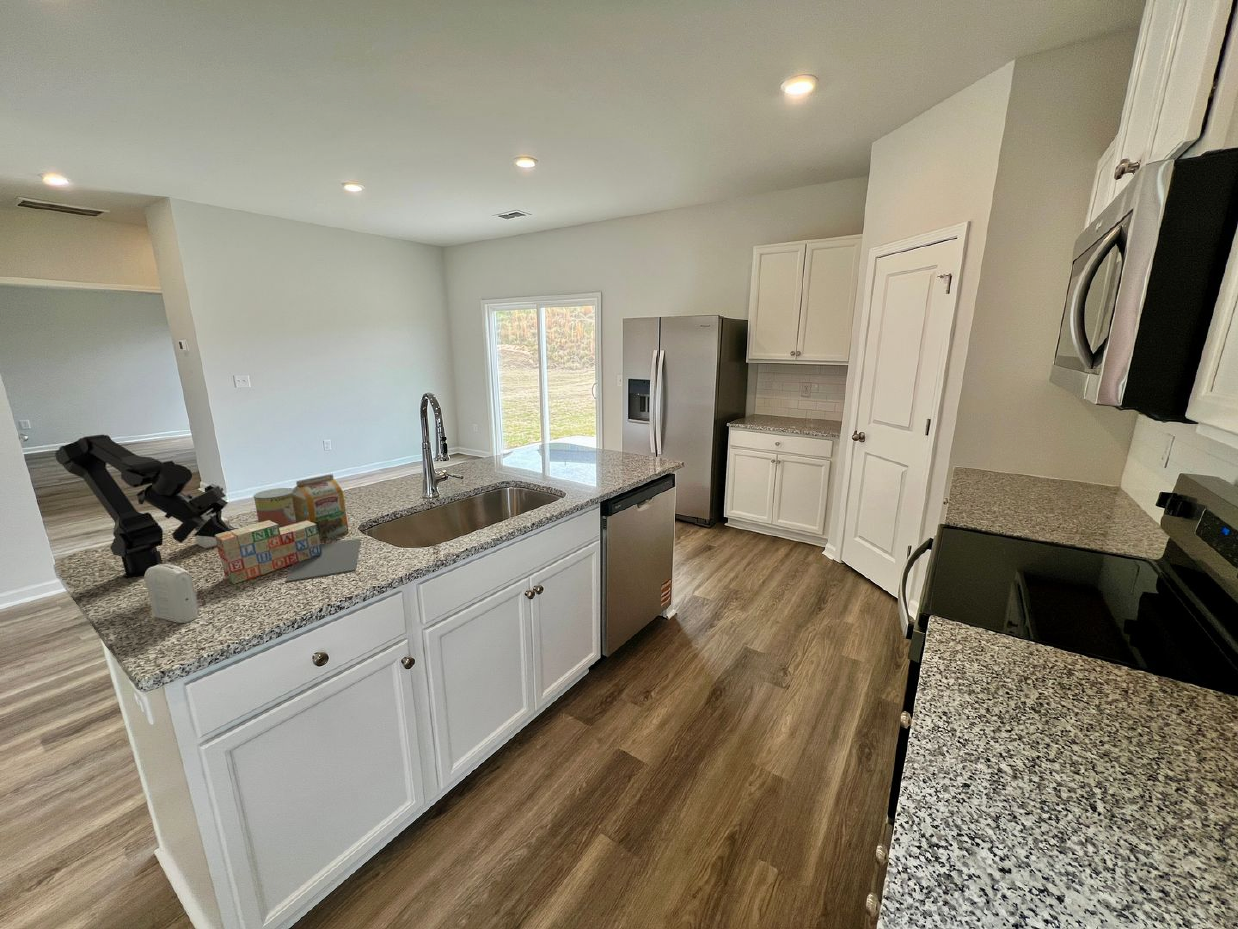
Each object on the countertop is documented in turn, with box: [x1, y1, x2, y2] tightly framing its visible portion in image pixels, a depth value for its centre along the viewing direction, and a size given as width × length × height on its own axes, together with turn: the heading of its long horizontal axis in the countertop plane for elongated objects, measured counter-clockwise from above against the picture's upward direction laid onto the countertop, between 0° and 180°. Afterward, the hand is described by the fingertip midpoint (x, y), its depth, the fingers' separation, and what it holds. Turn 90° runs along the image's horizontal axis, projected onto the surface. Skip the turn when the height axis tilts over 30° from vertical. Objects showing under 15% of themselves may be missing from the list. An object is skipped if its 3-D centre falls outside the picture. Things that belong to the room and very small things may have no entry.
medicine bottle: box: [192, 513, 232, 549], centre depth 150 cm, size 7×7×12 cm
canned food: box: [253, 487, 296, 528], centre depth 163 cm, size 11×11×12 cm
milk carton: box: [292, 473, 350, 543], centre depth 155 cm, size 11×11×19 cm
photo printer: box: [143, 563, 200, 624], centre depth 108 cm, size 10×4×12 cm, turn 72°
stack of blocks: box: [215, 520, 322, 585], centre depth 133 cm, size 21×6×12 cm, turn 143°
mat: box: [285, 538, 361, 583], centre depth 139 cm, size 16×24×1 cm, turn 24°
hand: (234, 537), depth 129 cm, fingers closed
